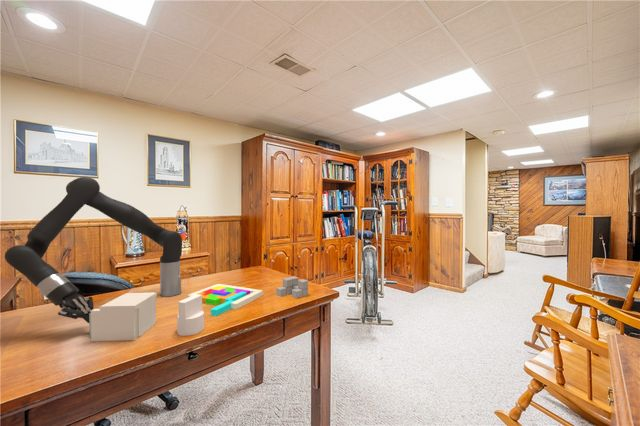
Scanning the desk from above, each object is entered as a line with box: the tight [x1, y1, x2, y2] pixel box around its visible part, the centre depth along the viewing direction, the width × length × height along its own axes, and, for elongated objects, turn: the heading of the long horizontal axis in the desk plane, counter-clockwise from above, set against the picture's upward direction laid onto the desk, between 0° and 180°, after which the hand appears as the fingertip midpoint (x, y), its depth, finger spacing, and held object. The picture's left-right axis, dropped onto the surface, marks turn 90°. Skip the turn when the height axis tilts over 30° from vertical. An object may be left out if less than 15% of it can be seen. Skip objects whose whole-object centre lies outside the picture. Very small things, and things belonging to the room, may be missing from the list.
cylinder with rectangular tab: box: [176, 294, 205, 337], centre depth 100 cm, size 9×9×12 cm
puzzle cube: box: [275, 275, 309, 299], centre depth 140 cm, size 12×12×8 cm
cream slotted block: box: [90, 292, 158, 342], centre depth 98 cm, size 14×14×12 cm
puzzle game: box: [186, 283, 264, 317], centre depth 131 cm, size 30×3×30 cm
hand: (94, 321), depth 97 cm, fingers closed
